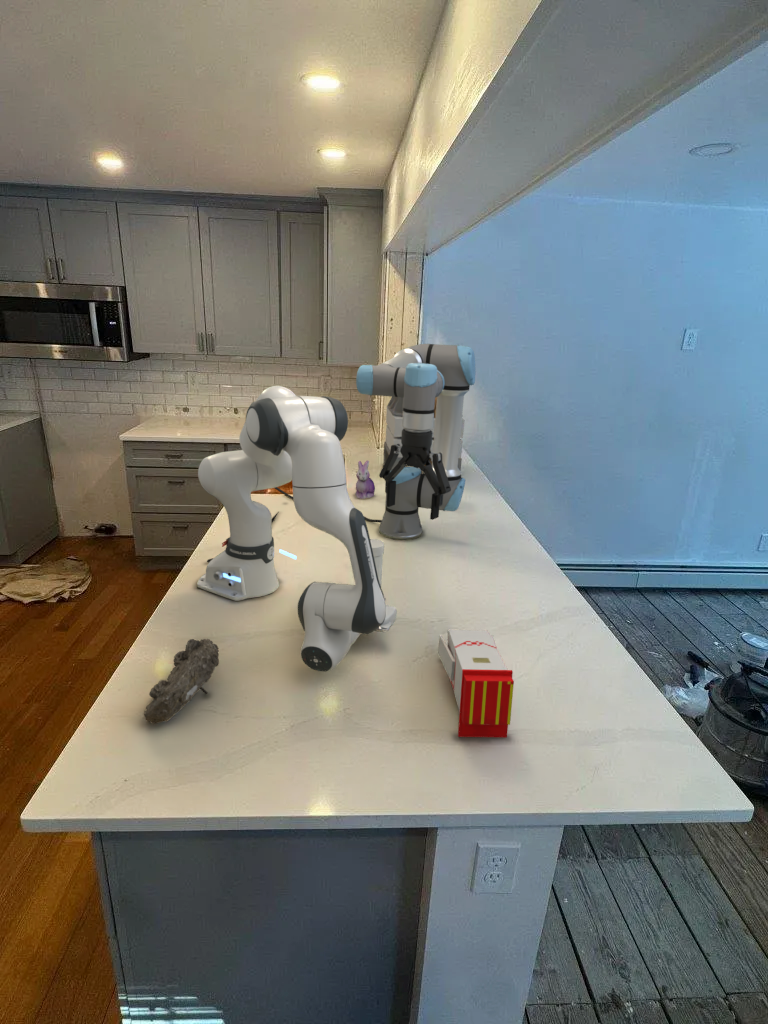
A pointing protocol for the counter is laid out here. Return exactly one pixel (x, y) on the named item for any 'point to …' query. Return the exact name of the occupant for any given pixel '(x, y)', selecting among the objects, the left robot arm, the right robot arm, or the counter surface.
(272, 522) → the feather
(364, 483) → the figurine
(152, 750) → the counter surface
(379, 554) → the white cylinder
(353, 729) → the counter surface
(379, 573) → the jar
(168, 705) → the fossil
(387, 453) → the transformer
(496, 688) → the toy
